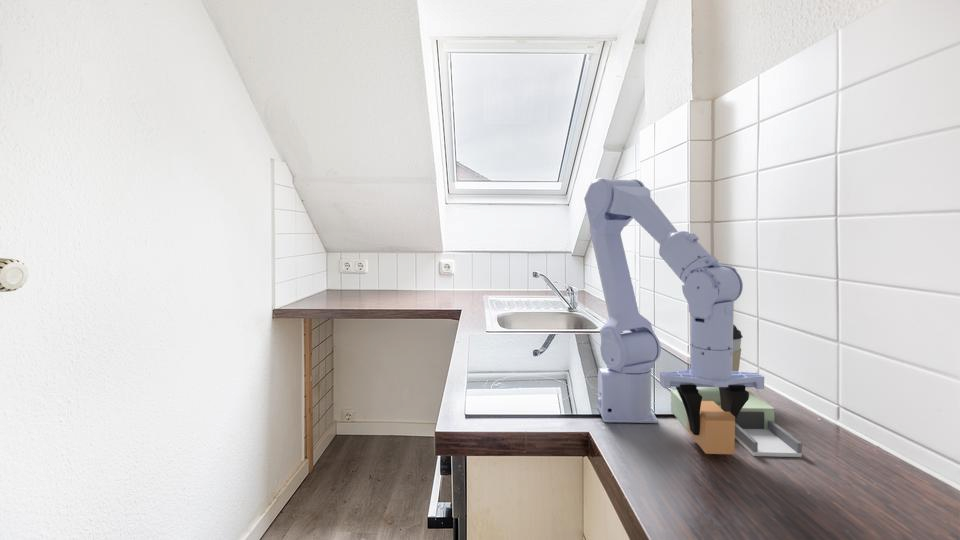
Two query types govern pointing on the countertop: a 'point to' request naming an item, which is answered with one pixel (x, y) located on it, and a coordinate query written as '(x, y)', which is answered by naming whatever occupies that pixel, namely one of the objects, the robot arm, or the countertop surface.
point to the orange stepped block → (715, 429)
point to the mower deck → (749, 425)
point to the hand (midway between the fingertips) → (710, 432)
